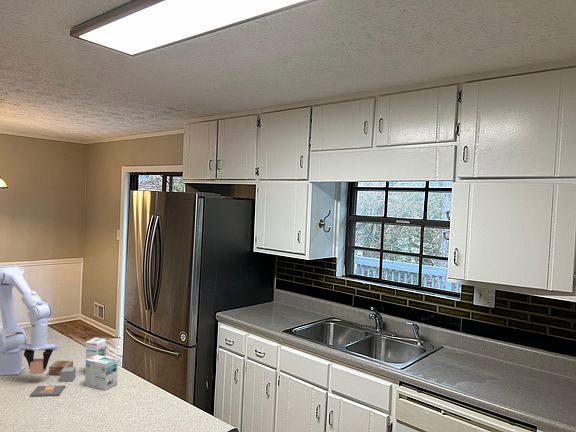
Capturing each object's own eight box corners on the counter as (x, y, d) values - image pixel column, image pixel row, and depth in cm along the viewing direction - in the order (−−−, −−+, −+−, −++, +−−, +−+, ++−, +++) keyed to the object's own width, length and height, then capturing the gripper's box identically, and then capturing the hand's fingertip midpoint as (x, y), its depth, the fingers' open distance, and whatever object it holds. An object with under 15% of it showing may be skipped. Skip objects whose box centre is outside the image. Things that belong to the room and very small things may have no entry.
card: (29, 396, 164) (29, 394, 164) (37, 387, 172) (37, 385, 172) (58, 395, 166) (58, 394, 166) (65, 386, 174) (65, 385, 174)
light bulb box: (117, 384, 178) (118, 358, 178) (105, 390, 172) (106, 363, 172) (96, 379, 182) (97, 353, 182) (83, 385, 176) (84, 359, 175)
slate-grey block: (60, 382, 178) (60, 371, 177) (63, 378, 182) (64, 367, 182) (72, 382, 178) (72, 371, 178) (75, 377, 183) (75, 367, 183)
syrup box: (97, 377, 184) (98, 342, 184) (84, 375, 186) (85, 341, 185) (105, 371, 190) (106, 338, 190) (93, 370, 191) (94, 337, 191)
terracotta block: (29, 374, 174) (30, 362, 174) (34, 369, 179) (34, 358, 179) (42, 373, 175) (42, 362, 175) (46, 369, 180) (46, 358, 180)
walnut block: (48, 376, 183) (49, 366, 183) (55, 369, 190) (56, 360, 190) (66, 376, 184) (66, 366, 184) (72, 370, 191) (73, 360, 191)
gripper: (15, 337, 171) (14, 372, 172) (55, 337, 174) (54, 371, 174) (22, 332, 178) (21, 365, 179) (61, 332, 181) (60, 364, 181)
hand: (38, 368), depth 177 cm, fingers closed on terracotta block, 4 cm apart
